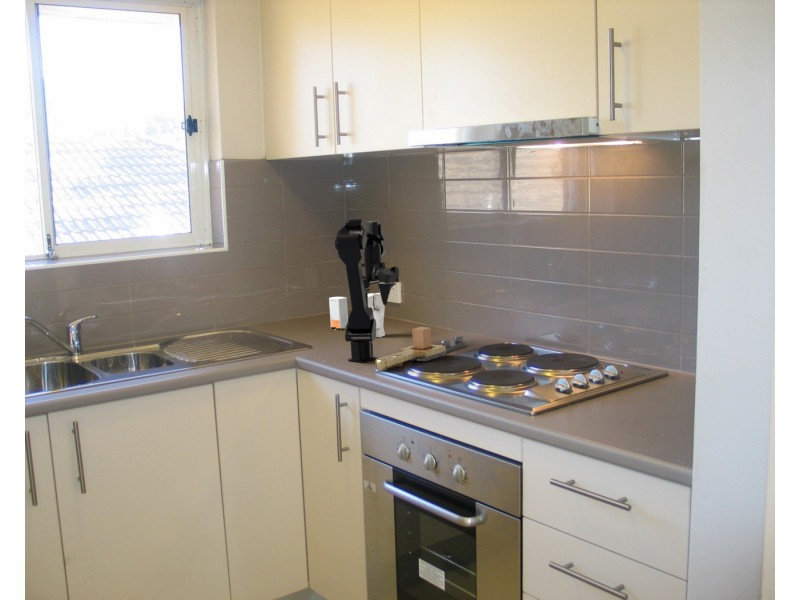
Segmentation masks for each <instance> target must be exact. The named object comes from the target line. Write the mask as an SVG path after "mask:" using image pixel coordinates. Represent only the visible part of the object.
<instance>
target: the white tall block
mask: <svg viewBox="0 0 800 600" xmlns="http://www.w3.org/2000/svg"><path fill="white" fill-rule="evenodd" d="M385 306H386V305H383V302H382V299H381V294H380V292H370V293H369V292H368V307H371V308H372V309H373V315H374V319H375V320H376V337H379V338H384V337H385V336H386V333H385V330H384V319H385V310H386V308H385ZM383 336H384V337H383Z"/></svg>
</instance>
